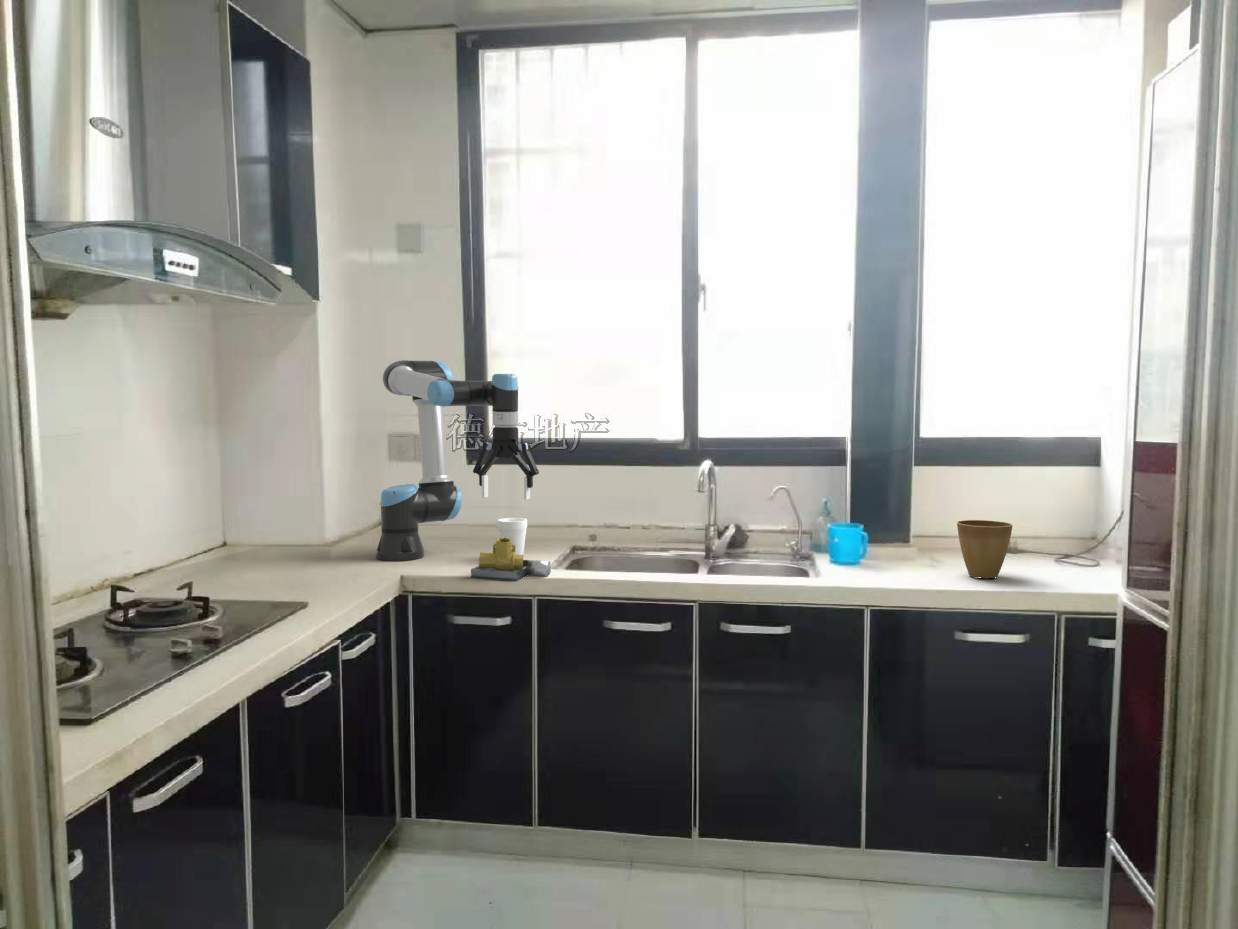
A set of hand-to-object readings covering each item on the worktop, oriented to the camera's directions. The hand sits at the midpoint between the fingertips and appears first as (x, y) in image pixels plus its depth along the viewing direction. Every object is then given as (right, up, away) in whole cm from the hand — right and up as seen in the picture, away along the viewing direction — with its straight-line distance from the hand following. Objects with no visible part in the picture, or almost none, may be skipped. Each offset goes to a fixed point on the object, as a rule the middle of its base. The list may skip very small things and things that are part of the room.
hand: (505, 498), depth 248 cm
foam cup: (-1, -21, +22) cm, 31 cm away
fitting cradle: (+3, -22, +1) cm, 23 cm away
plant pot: (+140, -23, -3) cm, 142 cm away
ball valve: (-2, -21, +1) cm, 21 cm away
